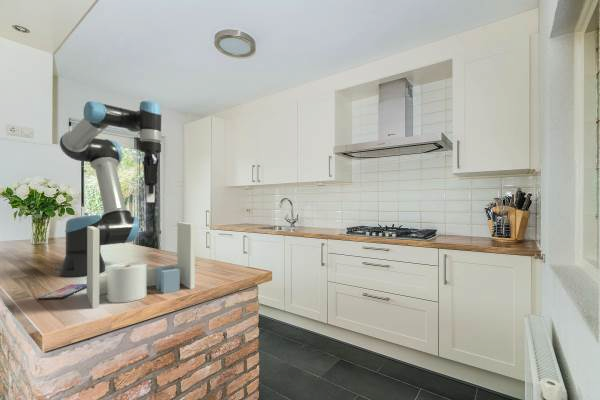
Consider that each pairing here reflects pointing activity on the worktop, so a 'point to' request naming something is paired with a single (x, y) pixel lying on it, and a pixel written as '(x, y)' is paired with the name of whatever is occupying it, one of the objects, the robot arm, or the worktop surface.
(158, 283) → the paddle block
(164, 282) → the paddle block
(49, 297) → the smartphone
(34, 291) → the worktop surface
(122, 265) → the toilet tissue
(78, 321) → the worktop surface
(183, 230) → the panel frame
